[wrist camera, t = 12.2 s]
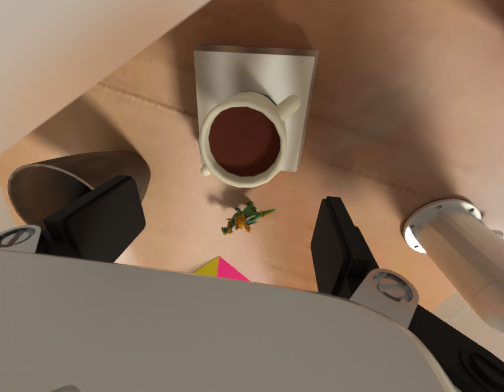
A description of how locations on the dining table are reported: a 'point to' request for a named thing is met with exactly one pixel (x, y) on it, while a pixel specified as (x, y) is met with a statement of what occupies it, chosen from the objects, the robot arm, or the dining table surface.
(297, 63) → the grey stacked block
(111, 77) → the dining table surface
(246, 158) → the character mug
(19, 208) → the plant pot
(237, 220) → the figurine
